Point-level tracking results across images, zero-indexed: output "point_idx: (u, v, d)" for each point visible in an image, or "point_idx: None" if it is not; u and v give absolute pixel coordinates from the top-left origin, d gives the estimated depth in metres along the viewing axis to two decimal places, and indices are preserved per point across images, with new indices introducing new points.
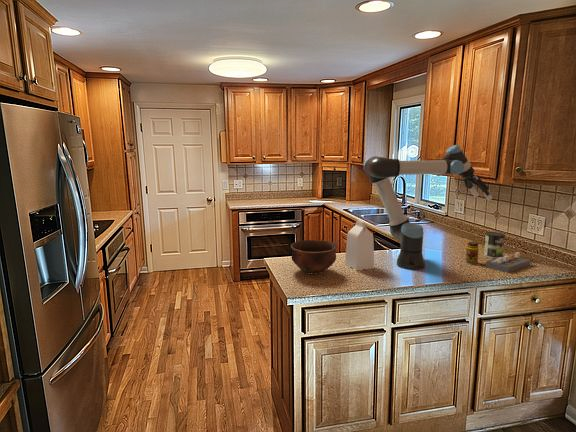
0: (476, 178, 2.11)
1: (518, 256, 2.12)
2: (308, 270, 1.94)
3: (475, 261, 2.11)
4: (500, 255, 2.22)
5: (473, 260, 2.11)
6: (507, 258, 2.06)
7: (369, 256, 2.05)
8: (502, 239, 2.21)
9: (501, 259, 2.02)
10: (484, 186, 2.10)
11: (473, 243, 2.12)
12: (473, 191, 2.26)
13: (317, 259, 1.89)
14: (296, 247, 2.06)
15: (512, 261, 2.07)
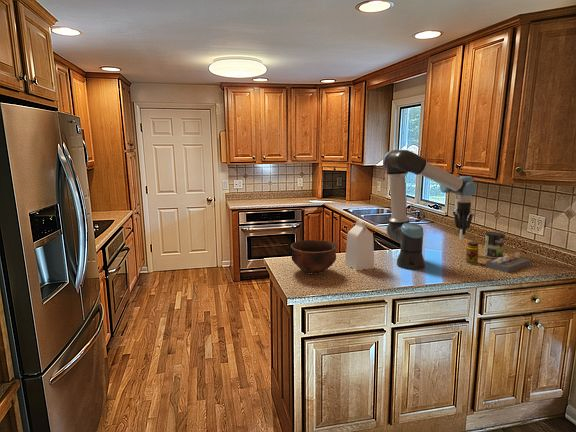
0: (472, 216, 2.23)
1: (518, 256, 2.12)
2: (308, 270, 1.94)
3: (475, 261, 2.11)
4: (500, 255, 2.22)
5: (473, 260, 2.11)
6: (507, 258, 2.06)
7: (369, 256, 2.05)
8: (502, 239, 2.21)
9: (501, 259, 2.02)
10: (468, 225, 2.26)
11: (473, 243, 2.12)
12: None
13: (317, 259, 1.89)
14: (296, 247, 2.06)
15: (512, 261, 2.07)
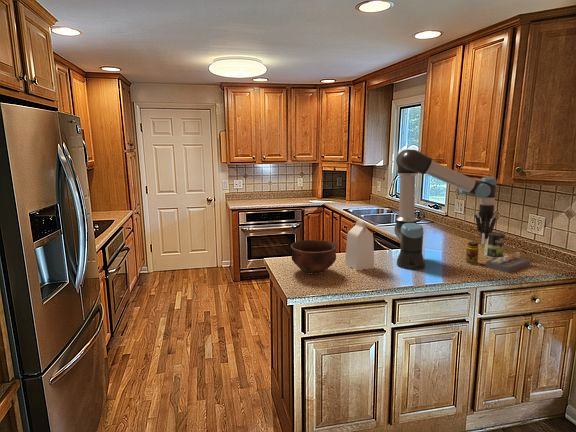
0: (495, 220, 2.11)
1: (518, 256, 2.12)
2: (308, 270, 1.94)
3: (475, 261, 2.11)
4: (500, 255, 2.22)
5: (473, 260, 2.11)
6: (507, 258, 2.06)
7: (369, 256, 2.05)
8: (502, 239, 2.21)
9: (501, 259, 2.02)
10: (492, 229, 2.14)
11: (473, 243, 2.12)
12: None
13: (317, 259, 1.89)
14: (296, 247, 2.06)
15: (512, 261, 2.07)
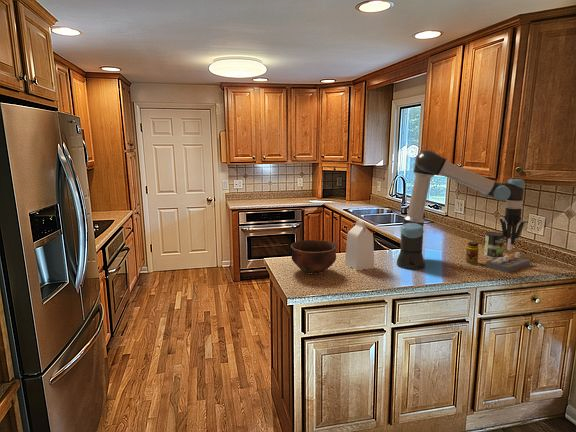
0: (523, 224, 1.99)
1: (518, 256, 2.12)
2: (308, 270, 1.94)
3: (475, 261, 2.11)
4: (500, 255, 2.22)
5: (473, 260, 2.11)
6: (507, 258, 2.06)
7: (369, 256, 2.05)
8: (502, 239, 2.21)
9: (501, 259, 2.02)
10: (519, 234, 2.02)
11: (473, 243, 2.12)
12: None
13: (317, 259, 1.89)
14: (296, 247, 2.06)
15: (512, 261, 2.07)
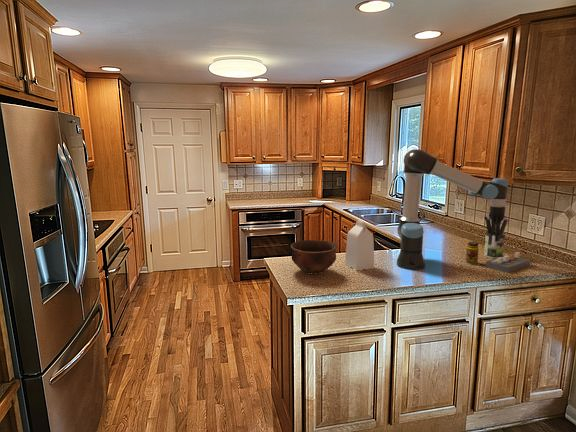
0: (506, 222, 2.06)
1: (518, 256, 2.12)
2: (308, 270, 1.94)
3: (475, 261, 2.11)
4: (500, 255, 2.22)
5: (473, 260, 2.11)
6: (507, 258, 2.06)
7: (369, 256, 2.05)
8: (502, 239, 2.21)
9: (501, 259, 2.02)
10: (502, 231, 2.09)
11: (473, 243, 2.12)
12: None
13: (317, 259, 1.89)
14: (296, 247, 2.06)
15: (512, 261, 2.07)
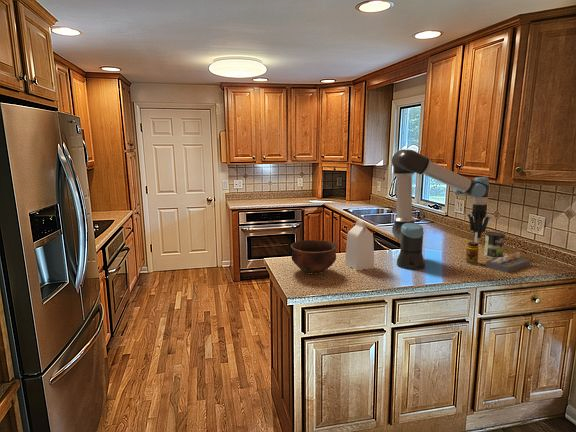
0: (488, 219, 2.15)
1: (518, 256, 2.12)
2: (308, 270, 1.94)
3: (475, 261, 2.11)
4: (500, 255, 2.22)
5: (473, 260, 2.11)
6: (507, 258, 2.06)
7: (369, 256, 2.05)
8: (502, 239, 2.21)
9: (501, 259, 2.02)
10: (484, 228, 2.18)
11: (473, 243, 2.12)
12: None
13: (317, 259, 1.89)
14: (296, 247, 2.06)
15: (512, 261, 2.07)
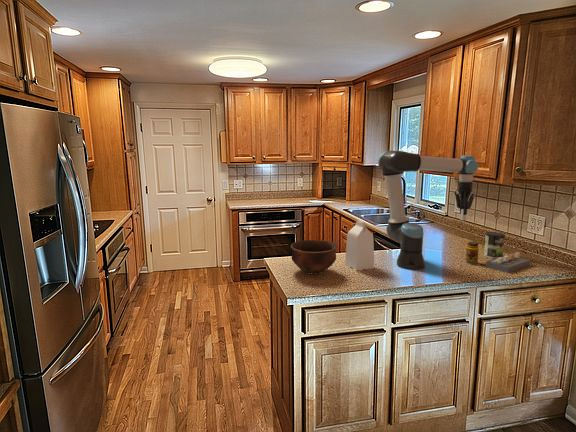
0: (473, 196, 2.21)
1: (518, 256, 2.12)
2: (308, 270, 1.94)
3: (475, 261, 2.11)
4: (500, 255, 2.22)
5: (473, 260, 2.11)
6: (507, 258, 2.06)
7: (369, 256, 2.05)
8: (502, 239, 2.21)
9: (501, 259, 2.02)
10: (470, 205, 2.24)
11: (473, 243, 2.12)
12: None
13: (317, 259, 1.89)
14: (296, 247, 2.06)
15: (512, 261, 2.07)
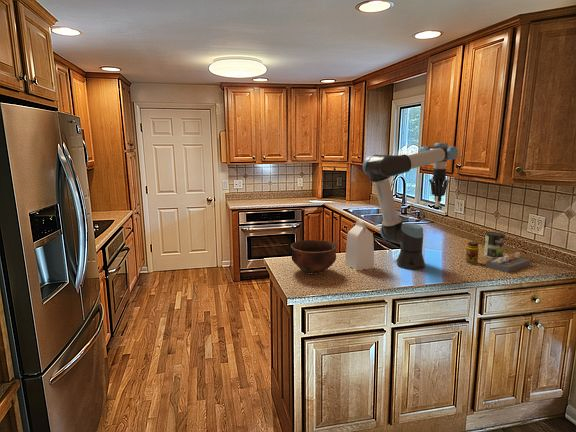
0: (447, 182, 2.25)
1: (518, 256, 2.12)
2: (308, 270, 1.94)
3: (475, 261, 2.11)
4: (500, 255, 2.22)
5: (473, 260, 2.11)
6: (507, 258, 2.06)
7: (369, 256, 2.05)
8: (502, 239, 2.21)
9: (501, 259, 2.02)
10: (444, 192, 2.28)
11: (473, 243, 2.12)
12: None
13: (317, 259, 1.89)
14: (296, 247, 2.06)
15: (512, 261, 2.07)
